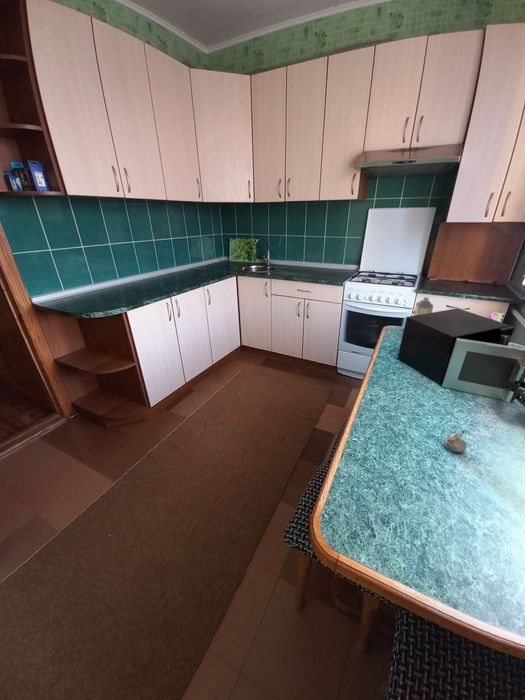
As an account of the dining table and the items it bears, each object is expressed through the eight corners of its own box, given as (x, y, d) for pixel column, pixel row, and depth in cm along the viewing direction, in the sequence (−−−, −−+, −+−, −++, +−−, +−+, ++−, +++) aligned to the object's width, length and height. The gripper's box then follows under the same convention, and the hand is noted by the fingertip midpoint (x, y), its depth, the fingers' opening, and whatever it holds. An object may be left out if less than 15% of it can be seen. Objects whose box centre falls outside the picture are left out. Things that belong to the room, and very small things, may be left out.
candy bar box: (477, 347, 125) (490, 311, 118) (491, 350, 122) (505, 313, 115) (472, 356, 118) (485, 318, 110) (487, 360, 115) (501, 321, 107)
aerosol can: (410, 335, 137) (420, 294, 128) (426, 339, 133) (437, 297, 123) (405, 340, 132) (415, 297, 123) (421, 344, 128) (432, 301, 119)
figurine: (467, 457, 72) (474, 439, 69) (447, 454, 73) (454, 436, 70) (458, 441, 76) (465, 424, 74) (440, 439, 77) (446, 422, 74)
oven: (499, 373, 106) (517, 328, 98) (445, 388, 98) (460, 340, 90) (445, 348, 125) (457, 308, 117) (397, 358, 117) (406, 316, 109)
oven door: (518, 413, 86) (543, 361, 78) (442, 396, 94) (458, 347, 86) (512, 399, 92) (535, 349, 84) (441, 384, 100) (456, 337, 92)
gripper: (608, 399, 71) (530, 366, 86) (572, 412, 67) (496, 375, 82) (593, 423, 75) (520, 387, 89) (557, 436, 71) (487, 397, 85)
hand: (509, 382), depth 85 cm, fingers open, 3 cm apart
